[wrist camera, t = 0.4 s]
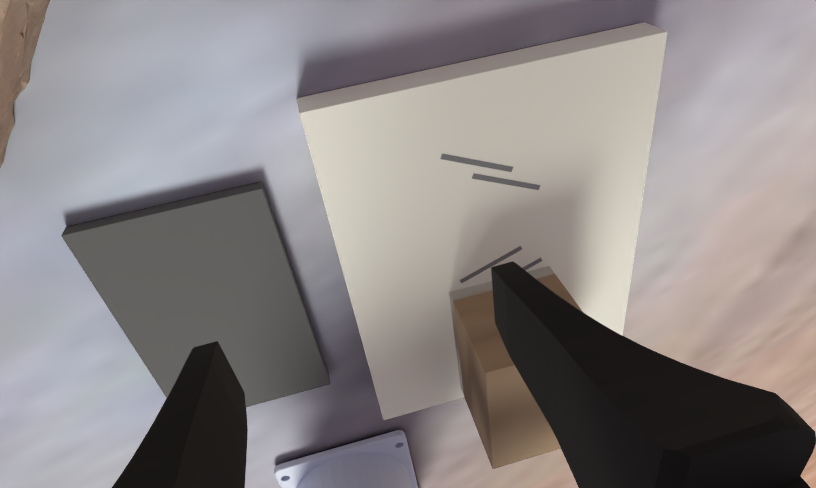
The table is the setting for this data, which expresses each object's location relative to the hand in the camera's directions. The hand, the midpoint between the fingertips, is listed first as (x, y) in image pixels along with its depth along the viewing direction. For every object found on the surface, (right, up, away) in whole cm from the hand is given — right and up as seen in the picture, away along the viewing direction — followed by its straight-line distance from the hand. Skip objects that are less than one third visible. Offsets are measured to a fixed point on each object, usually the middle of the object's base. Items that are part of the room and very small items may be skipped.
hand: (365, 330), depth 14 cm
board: (+5, +2, +12) cm, 13 cm away
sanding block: (+6, -2, +14) cm, 15 cm away
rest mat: (-8, -1, +11) cm, 13 cm away
